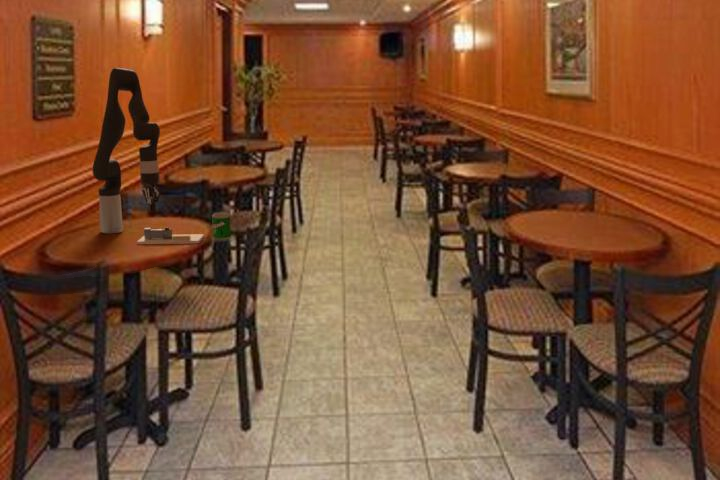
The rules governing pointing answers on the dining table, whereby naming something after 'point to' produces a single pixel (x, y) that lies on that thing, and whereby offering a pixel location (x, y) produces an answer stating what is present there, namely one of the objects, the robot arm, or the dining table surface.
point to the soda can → (221, 226)
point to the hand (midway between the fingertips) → (152, 212)
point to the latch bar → (158, 233)
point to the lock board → (165, 241)
